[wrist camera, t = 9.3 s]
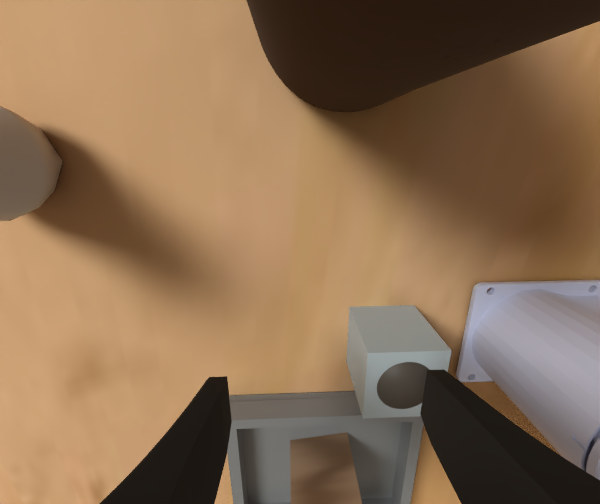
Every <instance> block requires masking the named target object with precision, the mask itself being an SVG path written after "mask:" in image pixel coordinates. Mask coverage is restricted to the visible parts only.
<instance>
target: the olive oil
mask: <svg viewBox="0 0 600 504" xmlns="http://www.w3.org/2000/svg"><path fill="white" fill-rule="evenodd" d="M247 2H248V5H249V9H250V12H251V15H252V18H253V21H254V24H255V27H256V30H257V33H258V36H259V39H260V42H261V45H262V47H263V50H264V52H265V54H266V57H267V59H268V61H269V62H270V64H271V66H272V68H273V69H274V71H275V72H276V74H277V75H278V76H279V78H280V79H281V80H282V81H283V83H284V84H285V85H286V86H287V87H288V88H289V89H290V90H291V91H293V92H294V93H295V94H296V95H298V96H299V97H300V98H302V99H303V100H305V101H307V102H309V103H310V104H313V105H315V106H317V107H320V108H323V109H327V110H331V111H338V112H353V111H360V110H365V109H369V108H372V107H375V106H377V105H380V104H382V103H385V102H387V101H389V100H392V99H394V98H396V97H398V96H401V95H403V94H405V93H408V92H410V91H412V90H415V89H417V88H420V87H423V86H425V85H428V84H431V83H433V82H436V81H438V80H441V79H444V78H446V77H449V76H452V75H454V74H457V73H460V72H462V71H465V70H467V69H470V68H473V67H475V66H478V65H481V64H483V63H486V62H489V61H491V60H494V59H497V58H499V57H502V56H505V55H507V54H510V53H513V52H515V51H518V50H521V49H524V48H526V47H529V46H532V45H535V44H537V43H540V42H543V41H546V40H548V39H551V38H554V37H557V36H559V35H562V34H565V33H568V32H570V31H573V30H576V29H579V28H581V27H584V26H587V25H590V24H592V23H595V22H598V21H600V0H247Z"/></svg>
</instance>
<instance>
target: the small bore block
mask: <svg viewBox="0 0 600 504" xmlns="http://www.w3.org/2000/svg"><path fill="white" fill-rule="evenodd" d="M290 482H291V504H362V500H361V496H360V491H359V486H358V481H357V477H356V472H355V467H354V462H353V458H352V453H351V448H350V444H349V439H348V434H347V432H346V433H338V434H331V435H324V436H316V437H309V438H302V439H295V440H290Z"/></svg>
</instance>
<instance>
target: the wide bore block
mask: <svg viewBox="0 0 600 504" xmlns="http://www.w3.org/2000/svg"><path fill="white" fill-rule="evenodd" d="M451 351H452V350H451V349H450V348H449V347H448V346H447V344H446V343H445V342H444V341H443V339H442V338H441V337H440V336H439V335H438V333H437V332H436V331H435V330H434V329H433V327H432V326H431V325H430V324H429V323H428V321H427V320H426V319H425V318H424V317H423V315H422V314H421V313H420V312H419V311H418V309H417V308H416V307H415V306H414V305H400V306H360V307H349V323H348V342H347V365H348V368H349V372H350V375H351V379H352V382H353V386H354V389H355V393H356V397H357V400H358V404H359V407H360V411H361V414H362V418H363V419H364V418H390V417H416V416H421V415H420V412H421V406H422V400H423V394H424V387H425V381H426V375H427V370H443V369H444V370H445V371H447V372H448V367H449V362H450V357H451Z"/></svg>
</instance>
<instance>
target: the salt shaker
mask: <svg viewBox="0 0 600 504" xmlns="http://www.w3.org/2000/svg"><path fill="white" fill-rule="evenodd" d="M62 162H63V161H62V160H61V158H60V157H59V155H58V154H57V152H56V151H55V149H54V148H53V146H52V145H51V143H50V142H49V140H48V139H47V138H46V136H45V135H44V133H43V132H42V130H41V129H40V128H38V127H36V126H35V125H33V124H32V123H30V122H29V121H27V120H25V119H24V118H22V117H21V116H19V115H18V114H16V113H14V112H12V111H10V110H8V109H6V108H4V107H2V106H0V221H11V220H13V219H15V218H17V217H20V216H22V215H24V214H26V213H28V212H31V211H33V210H35V209H37V208H39V207H40V206H41V205H42V204H43V203H44V202H45V201H46V200H47V198H48V197H49V196H50V195H51V194H52V193H53V192H54V191H55V187H56V184H57V180H58V177H59V173H60V169H61V166H62Z"/></svg>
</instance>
